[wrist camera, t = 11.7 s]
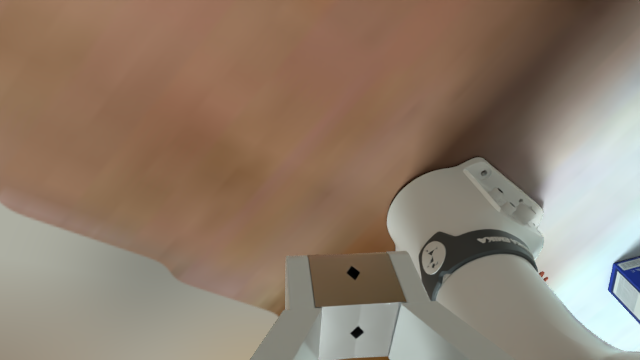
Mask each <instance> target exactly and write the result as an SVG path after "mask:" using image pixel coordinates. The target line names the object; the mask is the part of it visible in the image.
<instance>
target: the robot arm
mask: <svg viewBox="0 0 640 360" xmlns="http://www.w3.org/2000/svg"><path fill="white" fill-rule="evenodd" d="M484 170H485V171H484ZM482 171H484V172H483V173H481V172H482ZM543 213H544V211H543V209H542V208H541V207H540V205H539V204H537V203H536V202H535V201H534V200H533V199H531V198H530V197H529V196H528V195H527V194H525V193H524V192H523V191H522V190H521V189H519V188H518V187H517V186H516V185H515V184H513V183H512V182H511V181H510V180H509V179H507V178H506V177H505V176H504V175H503V174H501V173H500V172H499V171H498V170H497V169H495V168H494V167H493V166H492V165H491V164H489V163H488V162H487V161H486V160H485V159H483V158H481V157H476V158H473V159H471V160H468V161H466V162H464V163H462V164H460V165H458V166H456V167H452V168H445V169H440V170H435V171H432V172H429V173H426V174H424V175H422V176H420V177H418V178H416V179H415V180H413V181H412V182H410V183H409V184H408V185H407V186H405V187H404V188H403V189H402V190H401V191H400V192H399V194H398V195H397V196H396V197H395V199H394V201H393V202H392V204H391V206H390V209H389V212H388V216H387V227H388V231H389V234H390V236H391V238H392V239H393V241H394V243H395V245H396V251H393V252H386V253H385V252H379V253H360V254H340V255H307V256H286V274H285V310H283V312H282V313H281V315H280V316H279V318H278V319H277V321H276V322H275V324H274V325H273V327H272V328H271V329H270V331H269V332H268V334H267V335H266V337H265V338H264V340H263V341H262V343H261V344H260V346H259V347H258V349H257V350H256V351H255V353H254V354H253V356H252V357H251V359H250V360H338V359H347V358H360V357H380V356H389V359H390V360H640V352H632V351H623V350H620V349H618V348H615V347H614V346H612V345H610V344H608V343H607V342H605V341H603V340H602V339H600V338H599V337H598V336H596V335H595V334H593V333H592V332H591V331H590V330H588V329H587V328H586V327H585V326H584V325H583V324H582V323H580V322H579V321H578V320H577V319H576V318H575V317H574V316H573V315H572V313H571V312H570V311H569V310H568V309H567V308H566V306H565V305H564V304H563V303H562V302H561V300H560V299H559V298H558V297H557V296H556V294H555V293H554V292H553V291H552V289H551V288H550V287H549V286H548V285H547V283H546V282H545V281H546V280H547V279H548V277H546V278H544V279H543V278H542V276H543V275H544V272H543V271H542V272H540V273H539V274H538V270H537V266H536V264H535V260H536V258H537V257H538V256H539V254H540V252H541V250H542V248H543V244H544V237H543V235H542V234H541V233H540V232H539V230H538V229H537V228H538V226H539V224H540V222H541V220H542V217H543Z"/></svg>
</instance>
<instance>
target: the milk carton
mask: <svg viewBox="0 0 640 360" xmlns="http://www.w3.org/2000/svg"><path fill="white" fill-rule="evenodd" d="M608 291H609V292H610V293H611V294H612V295H613V296H614V297H615V298H616V299H617V300H618V301H619V302H620V303H621V304H622V306H623V307H624V308H625V309H626V310H627V311H628V312H629V313H630V314H631V315H632V316H633V317H634V318H635V319H636V321H637V322H638V323H639V324H640V256H639V257H636V258H632V259H628V260H625V261H621V262H617V263H613V268H612V273H611V278H610V283H609V288H608Z"/></svg>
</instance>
